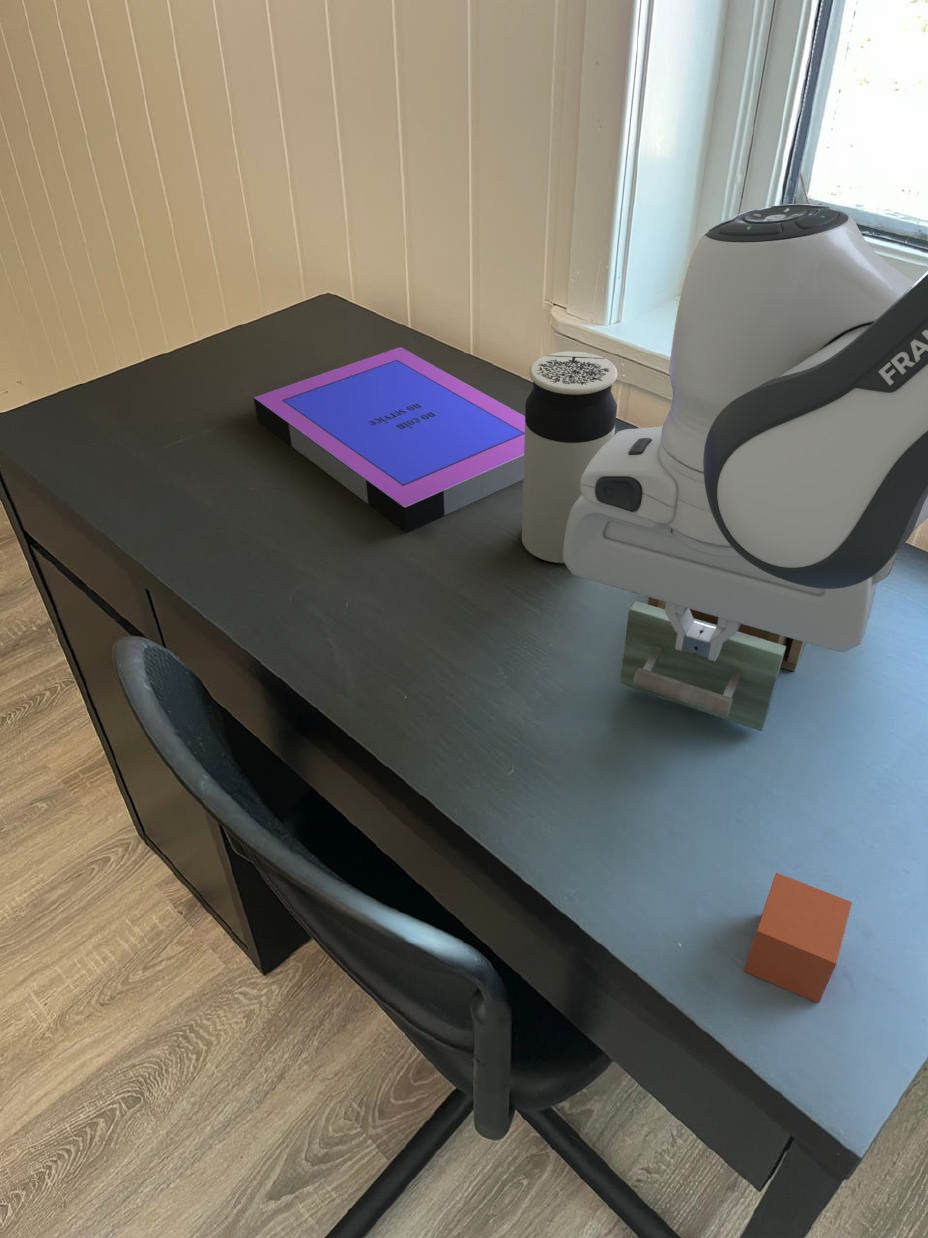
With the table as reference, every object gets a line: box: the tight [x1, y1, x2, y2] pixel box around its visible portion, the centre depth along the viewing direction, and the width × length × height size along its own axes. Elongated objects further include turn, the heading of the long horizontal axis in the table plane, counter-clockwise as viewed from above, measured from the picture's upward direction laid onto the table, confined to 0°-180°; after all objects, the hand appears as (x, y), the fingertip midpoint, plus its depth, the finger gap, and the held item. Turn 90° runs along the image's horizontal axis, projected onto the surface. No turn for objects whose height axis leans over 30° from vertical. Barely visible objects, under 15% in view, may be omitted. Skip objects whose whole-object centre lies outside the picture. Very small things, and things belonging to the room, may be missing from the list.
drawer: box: [619, 597, 789, 732], centre depth 74 cm, size 18×11×8 cm, turn 152°
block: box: [743, 872, 853, 1004], centre depth 57 cm, size 4×4×4 cm
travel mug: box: [521, 350, 618, 564], centre depth 86 cm, size 8×8×18 cm
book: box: [253, 346, 525, 534], centre depth 107 cm, size 21×3×30 cm
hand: (698, 650), depth 67 cm, fingers closed
